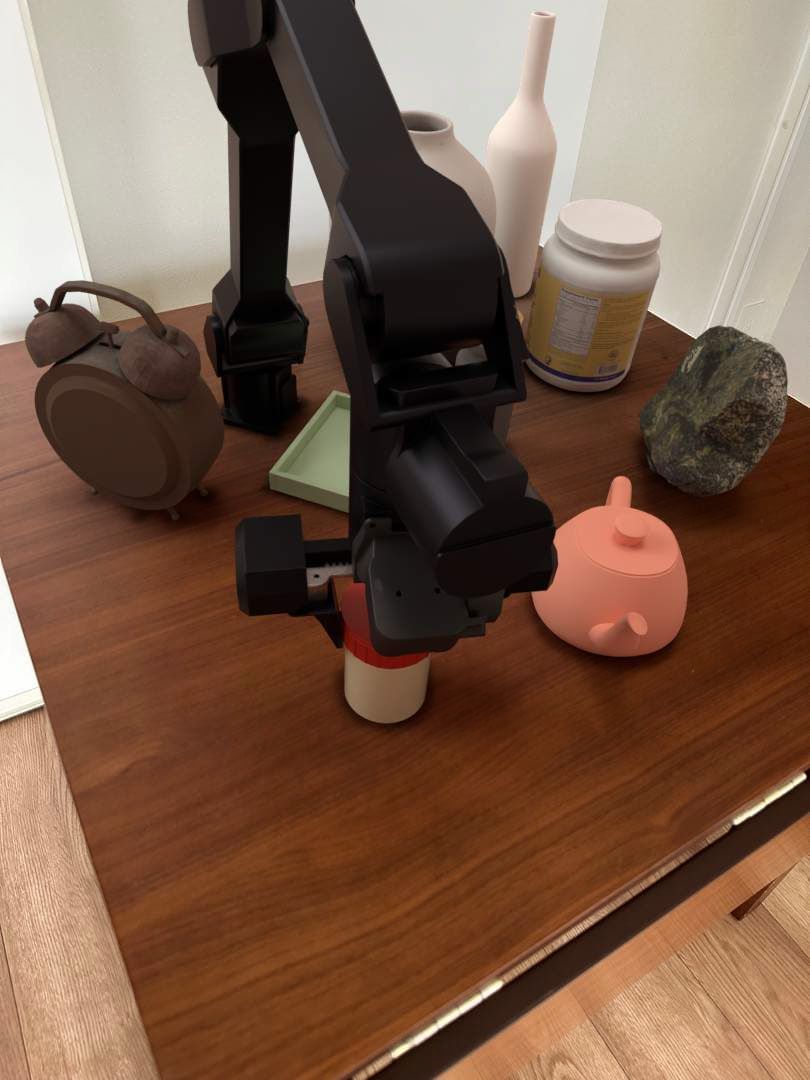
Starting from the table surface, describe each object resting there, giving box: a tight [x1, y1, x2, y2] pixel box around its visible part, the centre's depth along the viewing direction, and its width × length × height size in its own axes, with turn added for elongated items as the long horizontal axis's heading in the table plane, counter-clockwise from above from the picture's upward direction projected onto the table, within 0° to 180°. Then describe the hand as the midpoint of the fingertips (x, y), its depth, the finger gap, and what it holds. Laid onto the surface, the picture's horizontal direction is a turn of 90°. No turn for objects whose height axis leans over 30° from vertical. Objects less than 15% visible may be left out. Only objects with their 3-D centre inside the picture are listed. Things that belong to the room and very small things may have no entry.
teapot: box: [531, 475, 689, 658], centre depth 59 cm, size 12×18×10 cm
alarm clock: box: [24, 279, 225, 521], centre depth 62 cm, size 15×7×20 cm, turn 71°
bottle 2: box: [454, 308, 524, 447], centre depth 71 cm, size 6×6×15 cm
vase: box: [328, 109, 497, 365], centre depth 81 cm, size 17×17×24 cm
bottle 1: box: [483, 10, 558, 299], centre depth 91 cm, size 8×8×30 cm
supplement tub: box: [524, 198, 664, 393], centre depth 83 cm, size 12×12×17 cm
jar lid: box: [339, 581, 431, 669], centre depth 51 cm, size 7×7×2 cm
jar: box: [343, 646, 433, 724], centre depth 54 cm, size 6×6×8 cm
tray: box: [268, 389, 350, 514], centre depth 74 cm, size 11×14×2 cm
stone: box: [637, 324, 789, 498], centre depth 70 cm, size 15×10×15 cm
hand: (388, 638), depth 52 cm, fingers closed on jar lid, 6 cm apart
